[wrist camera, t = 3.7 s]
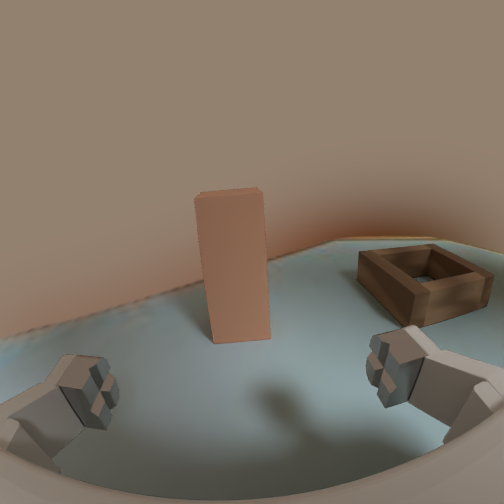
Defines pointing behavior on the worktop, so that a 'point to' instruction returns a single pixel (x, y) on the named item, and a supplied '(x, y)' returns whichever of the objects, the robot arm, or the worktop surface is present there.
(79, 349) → the worktop surface
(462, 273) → the walnut well
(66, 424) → the robot arm
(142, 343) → the worktop surface
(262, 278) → the salmon orange rectangular block
